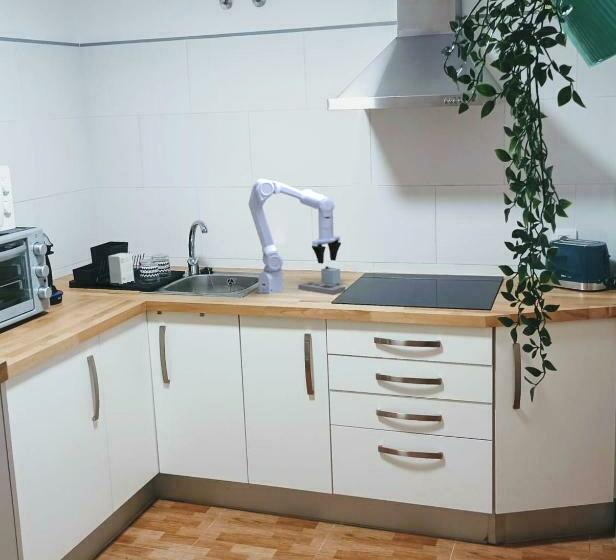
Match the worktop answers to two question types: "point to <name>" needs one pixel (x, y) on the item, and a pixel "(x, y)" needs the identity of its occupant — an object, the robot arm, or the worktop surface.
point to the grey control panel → (321, 288)
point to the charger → (330, 275)
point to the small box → (121, 268)
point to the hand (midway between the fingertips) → (326, 261)
